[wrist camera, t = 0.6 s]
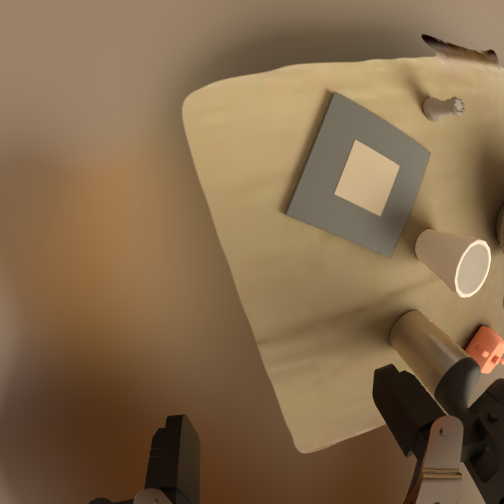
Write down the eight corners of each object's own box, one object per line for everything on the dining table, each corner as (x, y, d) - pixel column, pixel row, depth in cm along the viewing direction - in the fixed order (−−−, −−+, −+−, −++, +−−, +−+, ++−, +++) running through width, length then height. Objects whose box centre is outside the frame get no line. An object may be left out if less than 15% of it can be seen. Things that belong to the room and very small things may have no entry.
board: (427, 152, 41) (431, 152, 40) (387, 256, 46) (390, 258, 45) (332, 93, 37) (335, 91, 36) (284, 213, 42) (286, 215, 41)
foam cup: (431, 274, 48) (473, 303, 36) (401, 261, 46) (446, 290, 34) (450, 231, 46) (496, 250, 34) (421, 212, 44) (471, 230, 32)
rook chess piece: (441, 120, 39) (471, 118, 32) (425, 123, 39) (456, 120, 32) (434, 97, 38) (464, 92, 30) (418, 99, 38) (448, 93, 30)
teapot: (476, 318, 55) (501, 338, 45) (497, 331, 59) (517, 348, 49) (452, 355, 57) (474, 377, 48) (476, 363, 61) (495, 381, 52)
